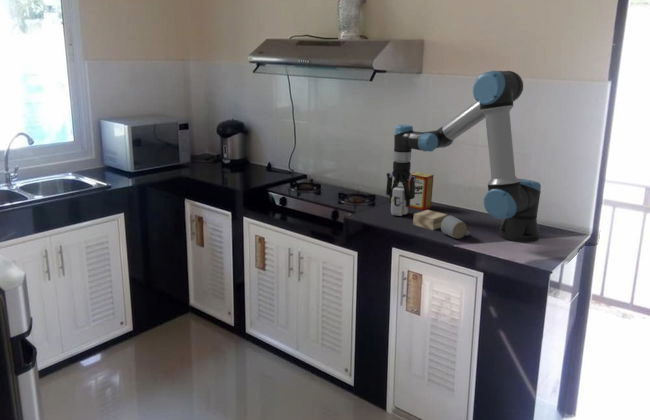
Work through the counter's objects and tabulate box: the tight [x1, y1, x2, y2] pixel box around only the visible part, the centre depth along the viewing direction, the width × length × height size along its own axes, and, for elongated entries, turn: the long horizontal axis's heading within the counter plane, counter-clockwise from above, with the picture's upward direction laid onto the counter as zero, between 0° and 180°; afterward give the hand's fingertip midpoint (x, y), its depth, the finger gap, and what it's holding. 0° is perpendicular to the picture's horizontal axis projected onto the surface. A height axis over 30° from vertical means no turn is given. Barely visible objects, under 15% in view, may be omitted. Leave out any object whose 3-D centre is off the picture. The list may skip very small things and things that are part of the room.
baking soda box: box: [408, 171, 435, 211], centre depth 257 cm, size 10×6×16 cm
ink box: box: [390, 185, 406, 217], centre depth 244 cm, size 9×5×12 cm, turn 154°
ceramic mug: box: [440, 215, 471, 240], centre depth 218 cm, size 11×8×8 cm
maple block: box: [412, 209, 449, 231], centre depth 232 cm, size 10×10×5 cm
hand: (399, 212), depth 246 cm, fingers closed on ink box, 6 cm apart
